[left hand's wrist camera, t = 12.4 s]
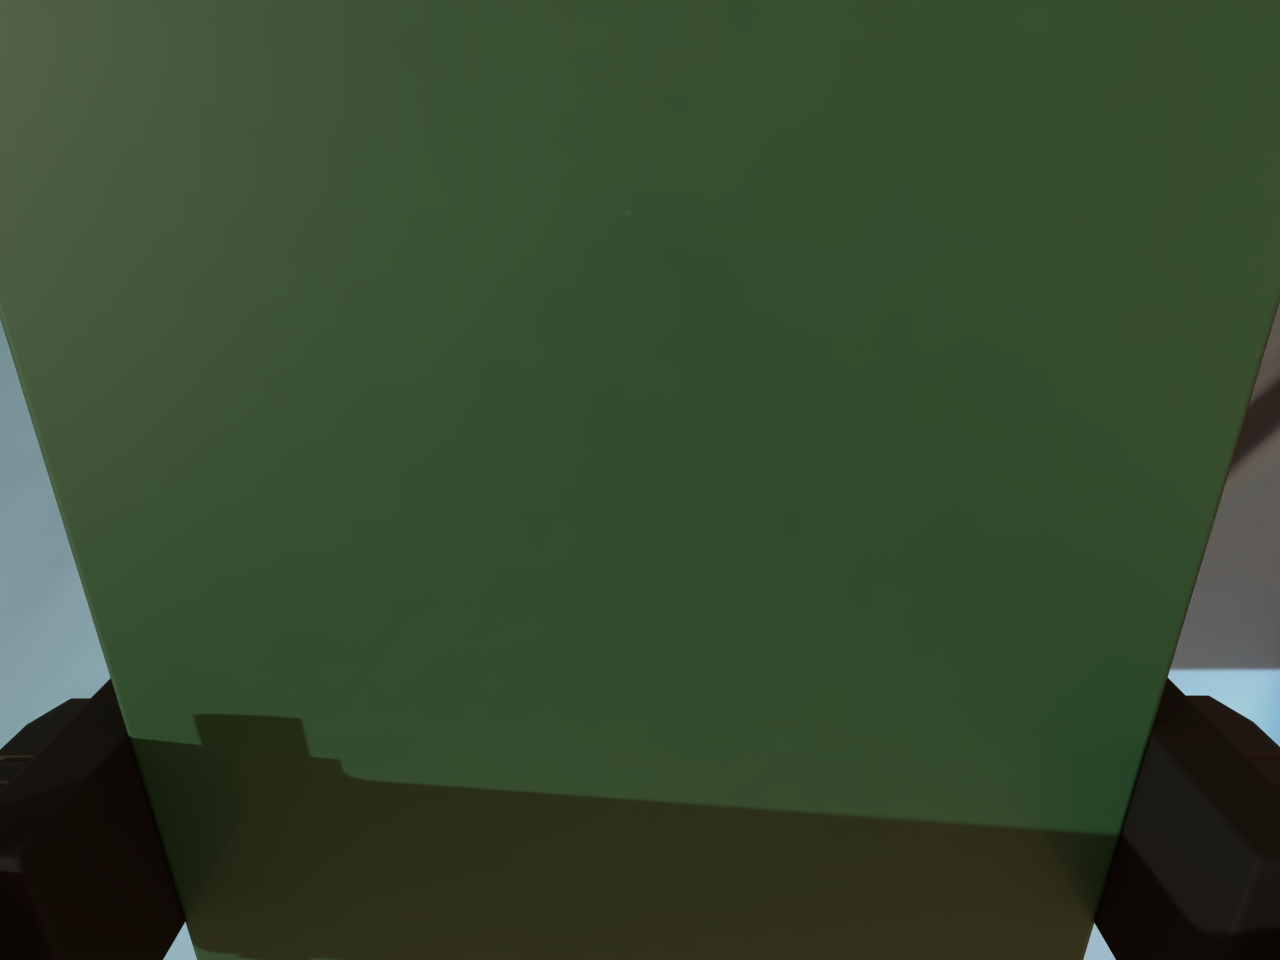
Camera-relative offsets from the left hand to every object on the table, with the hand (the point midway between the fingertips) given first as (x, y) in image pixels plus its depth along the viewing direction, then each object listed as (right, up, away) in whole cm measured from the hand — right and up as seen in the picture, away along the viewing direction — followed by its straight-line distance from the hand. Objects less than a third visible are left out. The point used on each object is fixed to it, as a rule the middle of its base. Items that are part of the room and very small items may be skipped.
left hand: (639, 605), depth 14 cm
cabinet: (0, +9, +3) cm, 9 cm away
